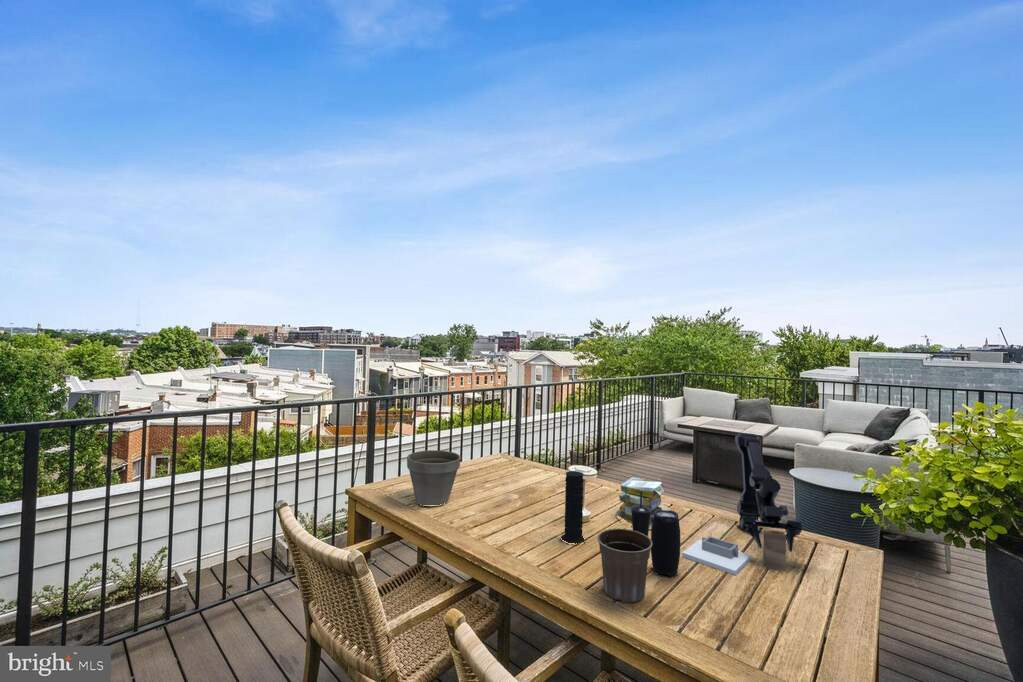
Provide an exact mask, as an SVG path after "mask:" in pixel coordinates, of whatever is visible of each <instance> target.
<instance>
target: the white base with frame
mask: <svg viewBox="0 0 1023 682" xmlns="http://www.w3.org/2000/svg"><path fill="white" fill-rule="evenodd" d="M738 546H739V545H738V544H737V543H734V542H730V541H726V540H724V539H720V538H717V537H714V536H711V535H708V536H707V537H701V539H698V540H696V542H694V543H693V544H692V545H690V546H689V547H688V548H686V549H684V551H682V552H681V557H682V558H685V559H688V560H690V561H693V562H697V563H699V564H702V565H704V566H708V567H710V568H713V569H716V570H719V571H722V572H725V573H728V574H731V575H733V576H736V575H738V574H739V573H740V571H742V570H743V569H744V567H746V565H748V563H749V562H751V560H752V555H751V554H748V553H746V552H742V551H739V547H738Z"/></svg>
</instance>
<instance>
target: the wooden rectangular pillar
mask: <svg viewBox="0 0 1023 682" xmlns="http://www.w3.org/2000/svg"><path fill="white" fill-rule="evenodd" d="M786 551H787V538H786V533H785V532H784V531H778V530H777V531H776V530H767V529H764V530H763V561H762V563H763V567H764V569H766V570H767V569H768V570H773V569H774V571H781V570H783V572H786V565H787V564H786V560H787V553H786Z"/></svg>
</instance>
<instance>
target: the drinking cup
mask: <svg viewBox="0 0 1023 682" xmlns="http://www.w3.org/2000/svg"><path fill="white" fill-rule="evenodd" d="M630 509H631V513H632V527H631V528H632V530H633V531H637V532H640V533H642V534H644V535H646V536H647V537H649V530H650V529H649V522H650V513H651V508H649V507H647V506H645V505H642V491H640V504H638V505H633V506H631V508H630Z"/></svg>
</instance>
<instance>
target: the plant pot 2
mask: <svg viewBox="0 0 1023 682" xmlns="http://www.w3.org/2000/svg"><path fill="white" fill-rule="evenodd" d="M596 539H597V542H598V544H599V553H600V556H601V558H600V559H601V566H602V567H601V569H602V581H603V583H602V584H603V592H605V594H606V595H607V596H608V597H609V596H610V597H609V598H611V599H612V598H613V599H612V600H614V599H615V600H614V601H618V600H620V601H621V602H622V603H635V602H640V601H641V600H643V599H644V597H645V594H646V586H647V585H646V584H647V576H648V575H647V574H648V564H649V559H650V558H651V547H652V541H651V537H649V536H648V537H647V536H646V535H644V534H642V533H640V532H637V531H633V529H629V528H628V529H626V528H610V529H605V530H602V531H601V532H600V533H598V535H597V538H596Z"/></svg>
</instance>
